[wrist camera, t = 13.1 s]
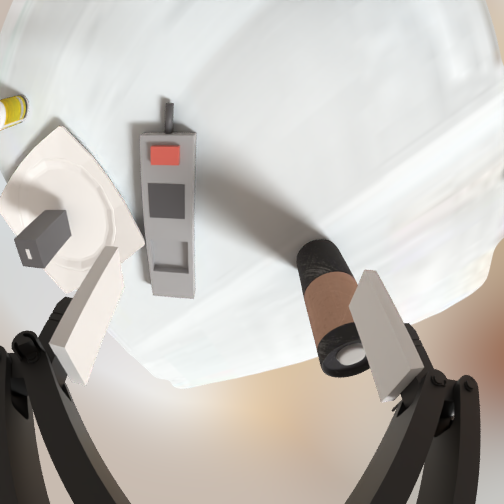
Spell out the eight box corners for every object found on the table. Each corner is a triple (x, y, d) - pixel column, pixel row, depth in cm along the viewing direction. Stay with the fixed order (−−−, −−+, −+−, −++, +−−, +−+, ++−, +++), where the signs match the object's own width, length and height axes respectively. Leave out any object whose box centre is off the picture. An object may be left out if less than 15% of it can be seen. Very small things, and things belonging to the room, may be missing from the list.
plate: (72, 291, 49) (67, 300, 47) (-2, 198, 37) (-10, 204, 35) (160, 237, 44) (156, 246, 41) (71, 110, 31) (61, 113, 29)
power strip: (145, 103, 32) (137, 105, 29) (198, 103, 32) (194, 104, 30) (155, 287, 48) (151, 298, 46) (195, 290, 49) (193, 302, 46)
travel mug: (297, 281, 48) (321, 383, 32) (291, 242, 44) (319, 347, 27) (341, 272, 48) (380, 369, 31) (339, 233, 44) (389, 330, 27)
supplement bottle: (22, 88, 27) (-13, 96, 20) (34, 109, 30) (-1, 120, 23) (7, 108, 28) (-27, 120, 21) (18, 128, 31) (-16, 143, 24)
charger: (45, 209, 37) (13, 239, 29) (66, 209, 37) (35, 240, 30) (51, 234, 39) (22, 266, 32) (71, 235, 40) (44, 269, 32)
